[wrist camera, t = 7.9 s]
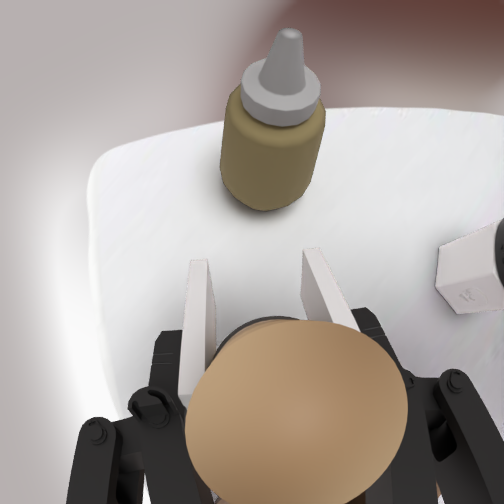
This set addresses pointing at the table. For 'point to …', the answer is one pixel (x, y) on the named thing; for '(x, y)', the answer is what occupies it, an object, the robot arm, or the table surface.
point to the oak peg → (295, 414)
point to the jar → (473, 270)
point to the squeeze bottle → (273, 128)
